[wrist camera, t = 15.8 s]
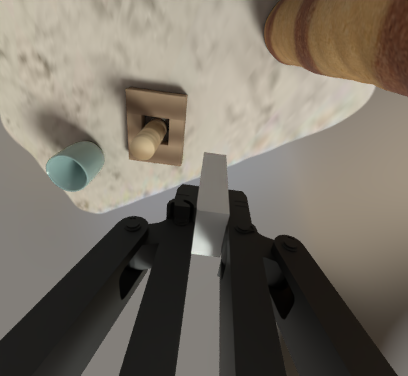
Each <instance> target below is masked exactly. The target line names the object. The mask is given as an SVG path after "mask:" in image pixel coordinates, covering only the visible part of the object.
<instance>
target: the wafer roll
mask: <svg viewBox="0 0 408 376" xmlns="http://www.w3.org/2000/svg"><path fill="white" fill-rule="evenodd" d="M264 37H265V43H266V46H267V48H268V50H269V52H270V53H271V54H272V55H273V56H274V57H275V58H276V59H277V60H278V61H279V62H281V63H283V64H286V65H295V66H300V67H303V68H305V69H307V70H308V71H311V72H313V73H316V74H320V75H325V76H329V77H335V78H343V79H348V80H354V81H357V82H361V83H367V84H373V85H375V86H377V87H379V88H382V89H384V90H387V91H391V92H394V93H398V94H401V95H404V96H407V97H408V0H281V1H279V2H278V3H277V4H276V5H275V7H274V8H273V10H272V11H271V13H270V14H269V16H268V18H267V20H266V23H265V29H264Z"/></svg>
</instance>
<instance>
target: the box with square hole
mask: <svg viewBox="0 0 408 376" xmlns="http://www.w3.org/2000/svg"><path fill="white" fill-rule="evenodd" d="M125 90H126V110H127V129H128V148H129V159H130V160H137V161H145V162H152V163H159V164H167V165H174V166H181V164H182V158H183V145H184V132H185V120H186V107H187V95H185V94H178V93H170V92H163V91H156V90H149V89H141V88H134V87H129V88H126V89H125ZM145 116H152V117H159V118H167V119H169V141H165V140H162V141H161V143H160V145H159V146H158V148H157V150H156V151H155V153H154V155H153V156H152V157H151V158H150V159H148V160H139V159H137V158H135V157H134V156H133V155H132V153H131V151H130V143H131V141H132V140H133V139H134V138H135V137H136V136H137V134H138V133H139V132H140V131H141V130H142V129H143V128H144V127H145Z"/></svg>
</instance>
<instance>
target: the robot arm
mask: <svg viewBox="0 0 408 376" xmlns="http://www.w3.org/2000/svg"><path fill="white" fill-rule="evenodd" d="M191 254H199V255H208V256H214V257H220V255H221V263H220V267H219V271H218V276H219V277H220V362H219V368H220V370H219V372H220V373H219V376H286V371H285V366H284V361H283V356H282V351H281V346H280V342H279V336H278V332H277V327H276V322H277V325H278V327H279V329H280V332H281V334H282V336H283V339H284V341H285V343H286V346H287V348H288V350H289V353H290V355H291V357H292V359H293V362H294V364H295V367H296V369H297V371H298V373H299V376H398V375H397V374H396V373H395V371H394V370H393V368H392V367H391V366H390V364H389V363H388V362H387V360H386V359H385V357H384V356H383V355H382V353H381V352H380V350H379V349H378V348H377V346H376V345H375V344H374V342H373V341H372V339H371V338H370V337H369V335H368V334H367V333H366V331H365V330H364V328H363V327H362V326H361V324H360V323H359V321H358V320H357V319H356V317H355V316H354V315H353V313H352V312H351V310H350V309H349V308H348V306H347V305H346V303H345V302H344V301H343V299H342V298H341V297H340V295H339V294H338V292H337V291H336V290H335V288H334V287H333V285H332V284H331V283H330V281H329V280H328V278H327V277H326V276H325V274H324V273H323V271H322V270H321V269H320V267H319V266H318V265H317V263H316V262H315V260H314V259H313V258H312V256H311V255H310V254H309V252H308V251H307V249H306V248H305V247H304V245H303V244H302V243H301V242H300V241H299V240H297V239H296V238H294V237H292V236H288V235H279V236H277V237H276V238H275V240H273V239H270V238H267V237H264V236H262V235H261V234H259V233H258V232H257V229H256V227H255V226H254V225H253V224H252V223H251V217H250V212H249V206H248V201H247V197H246V195H245V194H244V193H243V192H242V191H235V190H228V181H227V163H226V155H221V154H213V153H206V152H204V157H203V164H202V171H201V178H200V185H199V186H193V185H184V184H182V185H181V186H180V187H179V188H178V189H177V193H176V196H175V199H172V200H170V201H169V202H168V204H167V217H166V220H164V221H162V222H160V223H154V224H148V222H147V221H146V220H145V219H144V218H142V217H137V216H131V217H127V218H124V219H122V220H121V221H119V222H118V223H117V224H116V225H115V226H114V227H113V228H112V229H111V230H110V231H109V232H108V233H107V234H106V235H105V236H104V237H103V238H102V239H101V240H100V241H99V242H98V243H97V244H96V245H95V246H94V247H93V248H92V249H91V250H90V251H89V252H88V253H87V254H86V255H85V256H84V257H83V258H82V259H81V260H80V261H79V262H78V263H77V264H76V265H75V266H74V267H73V268H72V269H71V270H70V271H69V272H68V273H67V274H66V275H65V277H64V278H62V280H60V281H59V282H58V283H57V284H56V285H55V286H54V287H53V288H52V289H51V290H50V292H48V293H47V294H46V295H45V296H44V297H43V298H42V299H41V300H40V301H39V302H38V303H37V304H36V305H35V306H34V307H33V309H32V310H30V311H29V312H28V313H27V314H26V316H24V317H23V318H22V320H21V321H20V322H18V323H17V324H16V325H15V326H14V327H13V328H12V330H10V331H9V332H8V333H7V334H6V335H5V336H4V337H3V338H2V339H1V340H0V376H81V374H82V372H83V371H84V370H85V368H86V367H87V365H88V363H89V362H90V360H91V359H92V357H93V356H94V354H95V352H96V351H97V349H98V348H99V346H100V345H101V343H102V341H103V340H104V338H105V337H106V335H107V333H108V332H109V331H110V329H111V327H112V326H113V324H114V323H115V321H116V320H117V318H118V316H119V315H120V313H121V312H122V310H123V309H124V307H125V305H126V304H127V302H128V301H129V299H130V298H131V296H132V294H133V293H134V291H135V290H136V288H137V287H138V285H139V283H140V282H141V280H142V279H143V277H144V276H145V274H146V273H147V270H148V269H149V268H151V272H150V275H149V278H148V281H147V285H146V288H145V291H144V295H143V298H142V301H141V304H140V308H139V311H138V314H137V318H136V321H135V325H134V327H133V331H132V334H131V337H130V341H129V344H128V347H127V351H126V354H125V357H124V361H123V364H122V367H121V370H120V374H119V376H175V372H176V365H177V357H178V350H179V349H178V348H179V342H180V335H181V326H182V318H183V312H184V304H185V297H186V289H187V282H188V274H189V267H190V259H191ZM275 320H276V321H275Z"/></svg>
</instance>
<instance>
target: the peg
mask: <svg viewBox="0 0 408 376" xmlns="http://www.w3.org/2000/svg"><path fill="white" fill-rule="evenodd" d="M167 131H168V126H167V123H166V122H165V121H164V120H163V119H161V118H153V119H151V120H150V121H149V123H148V124H147V125H146V126H145V127H144V128H143V129H142V130H141V131H140V132H139V133H138V134H137V136H136V137H135V138H134V139H133V140H132V141H131V143H130V151H131V153H132V155H133V156H134V157H135V158H137V159H139V160H148V159H150V158H151V157H152V156H153V155H154V153H155V151H156V150H157V148H158V146H159V145H160V143H161V141H162V140H163V138H164V136H165V135H166V133H167Z"/></svg>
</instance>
